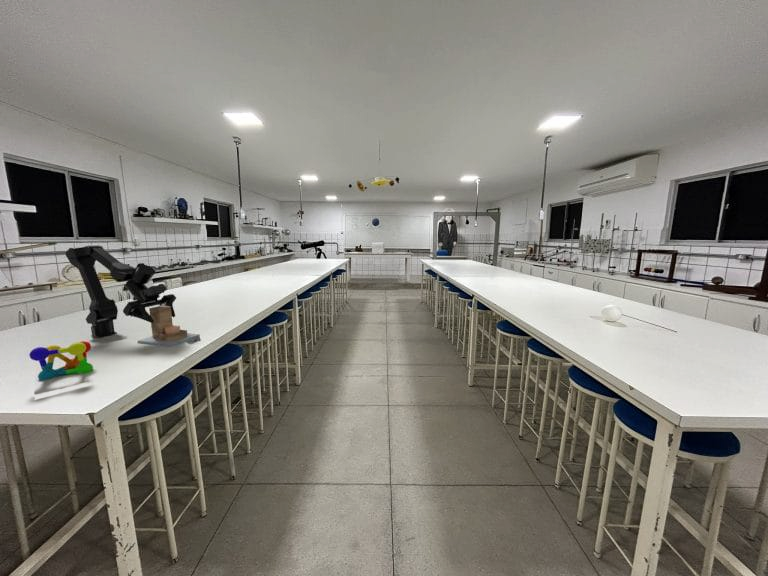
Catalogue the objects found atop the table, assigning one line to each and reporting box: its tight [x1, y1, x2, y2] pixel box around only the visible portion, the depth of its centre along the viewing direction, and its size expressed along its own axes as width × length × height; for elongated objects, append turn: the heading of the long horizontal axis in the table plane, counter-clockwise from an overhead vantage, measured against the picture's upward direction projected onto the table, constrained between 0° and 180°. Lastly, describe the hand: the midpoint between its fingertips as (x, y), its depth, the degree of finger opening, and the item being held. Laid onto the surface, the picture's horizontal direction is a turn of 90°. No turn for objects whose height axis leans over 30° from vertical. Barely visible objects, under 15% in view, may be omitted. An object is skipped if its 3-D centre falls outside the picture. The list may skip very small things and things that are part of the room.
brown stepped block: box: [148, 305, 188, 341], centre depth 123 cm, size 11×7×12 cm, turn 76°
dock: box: [137, 332, 201, 347], centre depth 124 cm, size 17×13×2 cm
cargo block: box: [165, 324, 181, 335], centre depth 123 cm, size 4×4×4 cm
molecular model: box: [28, 340, 94, 381], centre depth 92 cm, size 15×12×15 cm
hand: (164, 319), depth 123 cm, fingers open, 9 cm apart
